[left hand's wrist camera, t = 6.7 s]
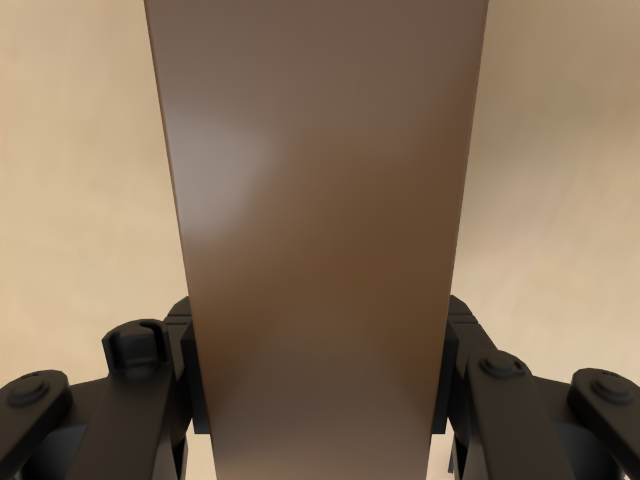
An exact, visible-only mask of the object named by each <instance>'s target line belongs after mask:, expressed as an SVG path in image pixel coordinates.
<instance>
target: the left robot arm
mask: <svg viewBox="0 0 640 480" xmlns="http://www.w3.org/2000/svg"><path fill="white" fill-rule="evenodd" d="M102 344H103V348H104V352H105V356H106V360H107V364H108V368H109V374H108V376H107V377H105V378H102V379H98V380H94V381H89V382H84V383H80V384H75V385H69V382H68V378H67V376H66V375H65V374H64V373H63V372H62V371H57V370H43V371H37V372H33V373H29V374H26V375H23V376H21V377H20V378H18V379H16V380H14V381H11V382H9V383H8V384H7V385H5V386H4V387H2V388H1V389H0V480H12V478H13V477H14V476H15V478H16V480H185V475H186V465H187V456H188V445H187V438H186V431H187V429H188V426H189V424H190V421H191V419H192V420H193V426H194V433H195V434H210V431H209V424H208V418H207V411H206V405H205V398H204V391H203V385H202V378H201V372H200V365H199V359H198V352H197V346H196V339H195V333H194V326H193V320H192V313H191V306H190V300H189V296H186V297H185V298H184V299H182V300H181V301H179V302H178V303H176V304H175V305H174V306H173V307H172V309H171V310H170V312H169V313H168V315H167V317H166V318H165V319H164V320H163V321H160V320H156V319H140V320H135V321H130V322H127V323H125V324H122V325H120V326H117V327H116V328H114V329H113V330H111V331H110V332H108V333H107V334H106V335H105V336H104V338H103V339H102ZM447 418H449V420H450V423H451V425H452V428H453V430H454V438H453V444H452V450H451V456H450V462H449V468H448V473H453V470H454V474H455V480H625V479H624V477H625V475H627V476H628V477H629V478H630V480H640V387H639V386H637V385H636V384H635V383H633V382H632V381H630V380H628V379H626V378H624V377H622V376H620V375H618V374H616V373H613V372H609V371H606V370H602V369H594V368H585V369H579V370H578V371H576V372H575V373H574V374H573V377H572V380H571V384H568V383H563V382H558V381H554V380H549V379H544V378H540V377H537V376H533V375H532V373H531V371H530V370H529V368H528V367H527V365H526V364H525V363H524V362H522V361H521V360H520V359H518V358H517V357H516V356H513V355H511V354H509V353H507V352H505V351H501V350H498V349H497V348H496V346H495V345H494V344H493V342H492V341H491V339H490V338H489V336H488V335H487V334H486V332H485V331H484V329H483V328H482V326H481V325H480V324H478V321H477V319H476V318H475V316H474V315H472V312H471V311H470V309H469V308H468V306H467V305H466V304H465V303H464V302H462V301H461V300H460V299H458V298H457V297H455V296H454V295H450V299H449V307H448V315H447V322H446V330H445V338H444V345H443V353H442V360H441V368H440V376H439V383H438V391H437V399H436V406H435V414H434V422H433V429H432V434H445V431H446V424H447Z"/></svg>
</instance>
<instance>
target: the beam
mask: <svg viewBox="0 0 640 480" xmlns="http://www.w3.org/2000/svg"><path fill="white" fill-rule="evenodd" d="M488 1H489V0H144V6H145V12H146V19H147V25H148V32H149V38H150V45H151V52H152V58H153V65H154V71H155V78H156V84H157V91H158V97H159V104H160V110H161V117H162V123H163V130H164V137H165V143H166V150H167V156H168V163H169V169H170V176H171V182H172V189H173V195H174V202H175V208H176V215H177V222H178V228H179V235H180V241H181V248H182V254H183V261H184V267H185V274H186V280H187V287H188V293H189V300H190V306H191V313H192V320H193V326H194V333H195V339H196V346H197V352H198V359H199V365H200V372H201V378H202V385H203V391H204V398H205V405H206V411H207V418H208V424H209V431H210V437H211V444H212V450H213V457H214V463H215V470H216V476H217V480H426V475H427V468H428V460H429V452H430V445H431V437H432V429H433V422H434V414H435V406H436V399H437V391H438V383H439V376H440V368H441V360H442V353H443V345H444V338H445V330H446V322H447V315H448V307H449V299H450V292H451V284H452V276H453V269H454V261H455V253H456V246H457V238H458V230H459V223H460V215H461V208H462V200H463V192H464V185H465V177H466V169H467V162H468V154H469V146H470V139H471V131H472V123H473V116H474V108H475V100H476V93H477V85H478V78H479V70H480V62H481V55H482V47H483V39H484V32H485V24H486V16H487V9H488Z"/></svg>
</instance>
